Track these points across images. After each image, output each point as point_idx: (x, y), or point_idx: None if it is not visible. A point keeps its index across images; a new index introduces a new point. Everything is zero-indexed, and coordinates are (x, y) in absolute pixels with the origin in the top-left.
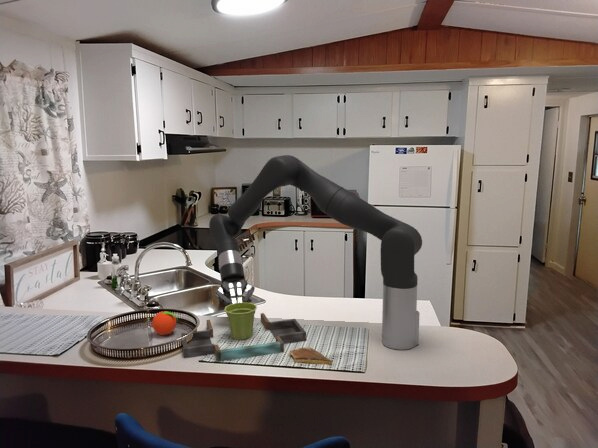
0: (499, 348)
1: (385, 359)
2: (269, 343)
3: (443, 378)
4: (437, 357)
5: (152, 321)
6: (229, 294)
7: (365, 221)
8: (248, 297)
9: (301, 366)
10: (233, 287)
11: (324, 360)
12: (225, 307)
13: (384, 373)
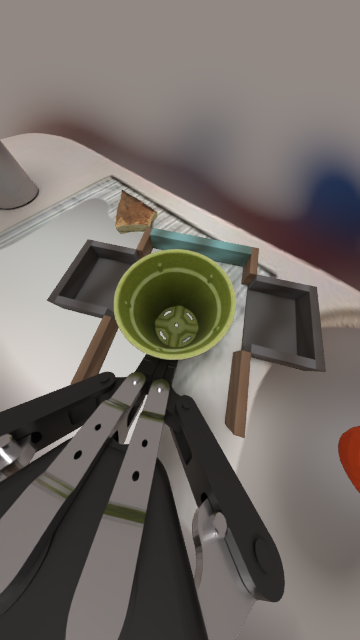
0: None
1: (69, 181)
2: (167, 235)
3: (67, 148)
4: (27, 165)
5: None
6: (160, 463)
7: None
8: (81, 383)
9: (156, 206)
10: (89, 544)
11: (128, 194)
12: (225, 330)
13: (97, 168)
